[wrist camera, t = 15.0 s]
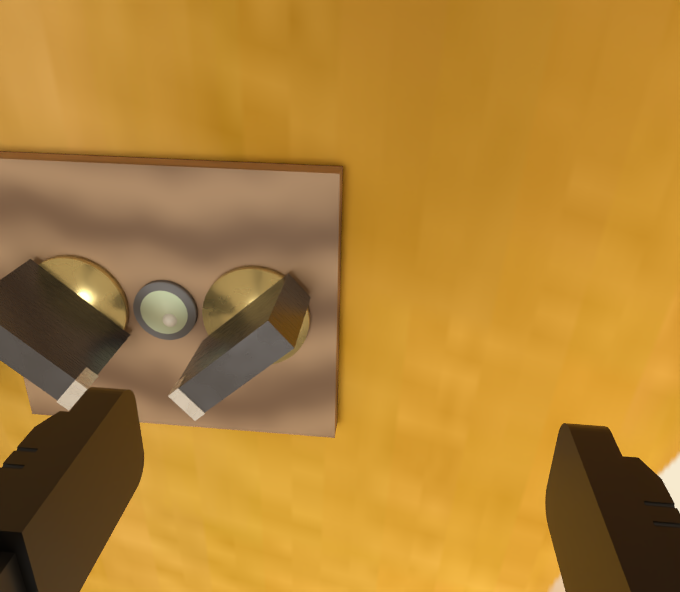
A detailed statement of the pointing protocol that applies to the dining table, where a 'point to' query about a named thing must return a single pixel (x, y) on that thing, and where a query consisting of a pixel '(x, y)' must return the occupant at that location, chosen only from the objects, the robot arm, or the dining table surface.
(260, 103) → the dining table surface
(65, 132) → the dining table surface
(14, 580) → the robot arm
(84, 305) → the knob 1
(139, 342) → the base plate
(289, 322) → the knob
